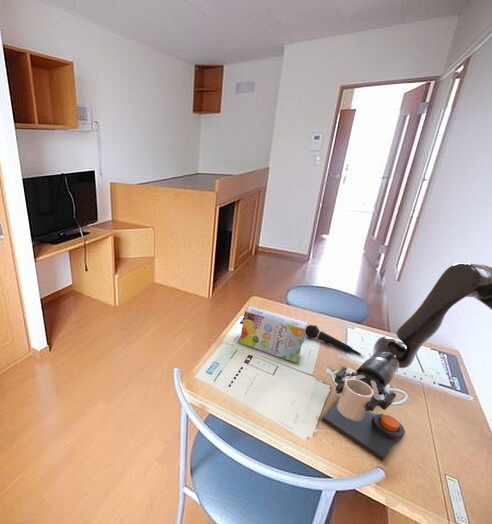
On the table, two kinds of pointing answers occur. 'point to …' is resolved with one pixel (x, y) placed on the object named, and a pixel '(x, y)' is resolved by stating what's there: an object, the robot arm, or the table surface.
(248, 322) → the snack box
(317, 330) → the microphone
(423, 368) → the table surface
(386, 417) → the button
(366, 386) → the cup
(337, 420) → the scale
